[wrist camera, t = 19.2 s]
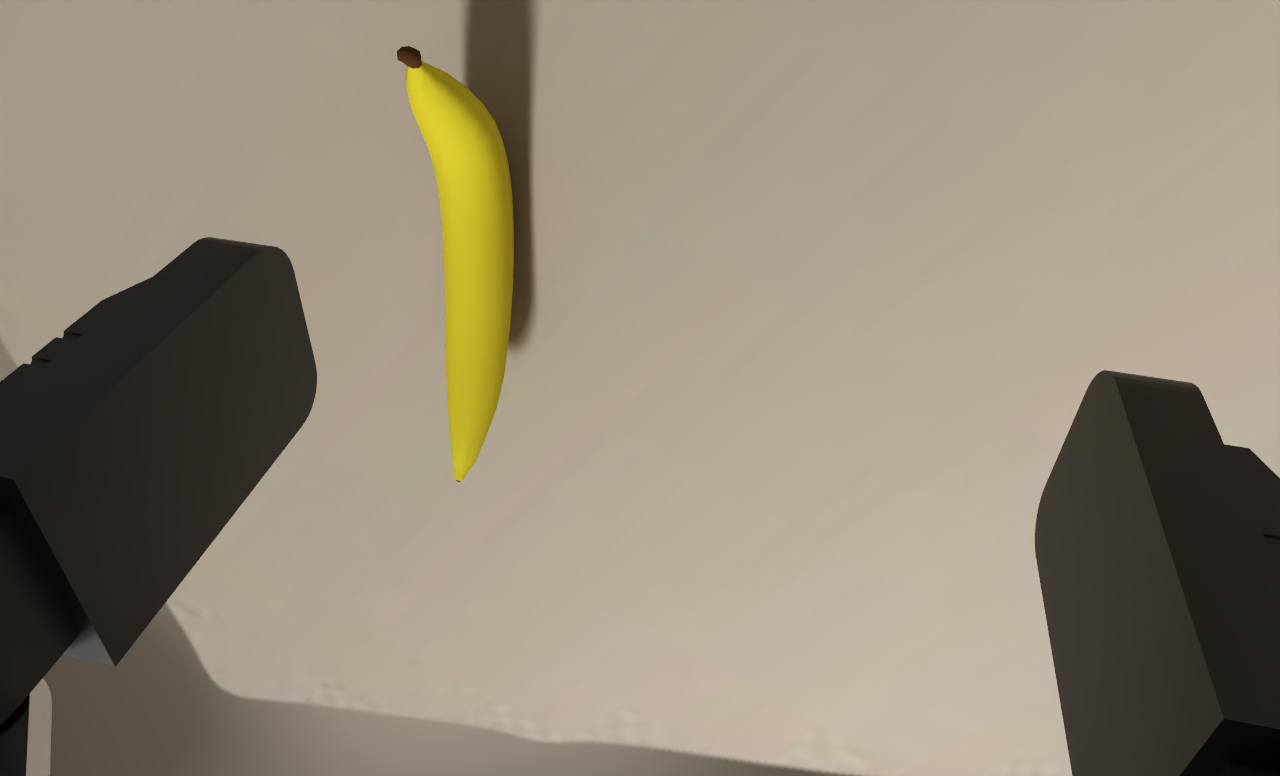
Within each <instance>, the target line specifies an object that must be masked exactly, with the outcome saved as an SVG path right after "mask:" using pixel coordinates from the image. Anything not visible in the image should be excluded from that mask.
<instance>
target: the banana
mask: <svg viewBox="0 0 1280 776" xmlns="http://www.w3.org/2000/svg"><path fill="white" fill-rule="evenodd" d="M397 57H398V60H399V61H401V62H403V63H404V64H406V65H407V70H406V85H407V91H408V96H409V100H410V105H411V108H412V110H413V113H414V116H415V118H416V121H417V123H418V126H419V128H420V130H421V132H422V135H423V137H424V139H425V142H426V144H427V147H428V150H429V152H430V155H431V158H432V162H433V166H434V170H435V174H436V179H437V186H438V193H439V200H440V210H441V221H442V232H443V250H444V269H445V318H446V377H447V398H448V413H449V425H450V437H451V449H452V460H453V468H454V478H455V480H456V481H458V482H460V481H461V480H463V479H464V477H465V476H466V474H467V472H468V471H469V469H470V468H471V467H472V465H473V464H474V462H475V461H476V458H477V456H478V454H479V452H480V449H481V447H482V445H483V442H484V440H485V438H486V435H487V432H488V429H489V427H490V424H491V421H492V419H493V416H494V413H495V410H496V408H497V404H498V399H499V395H500V391H501V387H502V382H503V378H504V372H505V365H506V357H507V349H508V340H509V332H510V321H511V308H512V296H513V270H514V217H513V199H512V186H511V179H510V172H509V164H508V160H507V155H506V151H505V147H504V143H503V140H502V137H501V135H500V132H499V130H498V127H497V125H496V123H495V121H494V119H493V118H492V116H491V115H490V113H489V112H488V110H487V109H486V107H485V106H484V104H483V103H482V102H481V101H480V100H479V99H478V98H477V97H476V96H475V95H474V94H473V93H472V92H471V91H470V90H469V89H468V88H467V87H466V86H464V85H463V84H462V83H460V82H459V81H457V80H456V79H455V78H453V77H452V76H451V75H449V74H448V73H446V72H444V71H442V70H440V69H437V68H435V67H433V66H431V65H429V64H427V63H425V62H423V61H421V55H420V51H418V50H416V49H414V48H412V47H410V46H407V47H401V48H400V49H399V50H398V51H397Z"/></svg>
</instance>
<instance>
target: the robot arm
mask: <svg viewBox="0 0 1280 776" xmlns="http://www.w3.org/2000/svg"><path fill="white" fill-rule="evenodd" d="M316 386H317V370H316V364H315V360H314V355H313V351H312V347H311V343H310V338H309V334H308V330H307V325H306V321H305V317H304V312H303V308H302V304H301V300H300V295H299V291H298V287H297V282H296V278H295V274H294V270H293V267H292V264H291V261H290V259H289V258H288V256H287V255H286V253H285V252H284V251H283V250H281V249H279V248H278V247H273V246H266V245H259V244H252V243H246V242H239V241H232V240H225V239H218V238H211V237H207V238H202V239H200V240H198V241H196V242H195V243H193V244H192V245H191V246H190V247H189V248H187V249H186V250H185V251H184V252H182V253H181V254H180V255H179V256H178V257H176V258H175V259H174V260H173V261H172V262H170V263H169V264H168V265H167V266H166V267H164V268H163V269H162V270H161V271H159V272H158V273H157V274H156V275H155V276H153V277H151V278H149V279H147V280H145V281H143V282H141V283H138V284H136V285H134V286H132V287H130V288H128V289H126V290H123V291H121V292H119V293H117V294H115V295H113V296H110V297H108V298H106V299H104V300H102V301H101V302H99V303H98V304H97V305H96V306H94V307H93V308H92V309H91V310H89V311H88V312H87V313H86V314H84V315H83V316H82V317H81V318H79V319H78V320H77V321H76V322H74V323H73V324H72V325H71V326H70V327H68V328H67V329H66V330H65V331H64V336H63V338H57V337H56V338H55V339H53V340H52V341H51V342H50V343H48V344H47V345H46V346H45V347H43V348H42V349H41V350H40V351H38V352H37V353H36V354H35V355H33V356H32V362H31V364H30V365H29V364H22V365H21V366H20V367H18V368H17V369H16V370H15V371H13V372H12V373H11V374H10V375H8V376H7V377H6V378H5V379H4V380H2V381H1V382H0V776H50V747H51V711H52V709H51V708H52V702H51V693H50V691H49V688H48V686H47V684H46V682H45V681H44V679H43V677H44V676H45V675H46V673H47V672H48V671H49V670H50V669H51V668H52V666H53V665H54V664H55V663H56V662H57V660H58V659H59V658H60V657H61V656H62V655H63V656H68V657H72V658H77V659H81V660H86V661H91V662H95V663H100V664H104V665H108V666H113V667H116V665H117V664H118V663H119V662H120V660H121V659H122V658H123V656H124V655H125V654H126V653H127V651H128V650H129V649H130V647H131V646H132V645H133V644H134V642H135V641H136V640H137V638H138V637H139V636H140V634H141V633H142V632H143V631H144V629H145V628H146V627H147V626H148V624H149V623H150V622H151V620H152V619H153V618H154V616H155V615H156V614H157V613H158V611H159V610H160V609H161V607H162V606H163V605H164V604H165V602H166V601H167V600H168V598H169V597H170V596H171V595H172V593H173V592H174V591H175V589H176V588H177V587H178V585H179V584H180V583H181V582H182V580H183V579H184V578H185V576H186V575H187V574H188V573H189V571H190V570H191V569H192V567H193V566H194V565H195V564H196V562H197V561H198V560H199V558H200V557H201V556H202V555H203V553H204V552H205V551H206V549H207V548H208V547H209V545H210V544H211V543H212V542H213V540H214V539H215V538H216V536H217V535H218V534H219V533H220V531H221V530H222V529H223V527H224V526H225V525H226V524H227V522H228V521H229V520H230V518H231V517H232V516H233V514H234V513H235V512H236V511H237V509H238V508H239V507H240V505H241V504H242V503H243V502H244V500H245V499H246V498H247V496H248V495H249V494H250V493H251V491H252V490H253V489H254V487H255V486H256V485H257V484H258V482H259V481H260V480H261V478H262V477H263V476H264V474H265V473H266V472H267V471H268V469H269V468H270V467H271V465H272V464H273V463H274V462H275V460H276V459H277V458H278V456H279V455H280V454H281V453H282V451H283V450H284V449H285V447H286V446H287V445H288V443H289V442H290V441H291V440H292V438H293V437H294V436H295V434H296V433H297V432H298V431H299V429H300V428H301V427H302V425H303V424H304V422H305V421H306V419H307V417H308V415H309V413H310V411H311V408H312V405H313V402H314V398H315V393H316ZM1035 552H1036V559H1037V565H1038V571H1039V577H1040V583H1041V589H1042V595H1043V601H1044V607H1045V613H1046V619H1047V625H1048V631H1049V637H1050V643H1051V649H1052V655H1053V661H1054V667H1055V673H1056V679H1057V685H1058V691H1059V697H1060V703H1061V709H1062V715H1063V721H1064V727H1065V733H1066V739H1067V745H1068V751H1069V757H1070V763H1071V769H1072V775H1073V776H1280V478H1279V477H1278V476H1277V475H1276V474H1275V473H1274V472H1273V471H1272V470H1271V469H1270V468H1269V467H1267V466H1266V465H1265V464H1264V463H1263V462H1262V461H1261V460H1260V459H1259V458H1258V457H1257V456H1256V455H1255V454H1254V453H1253V452H1252V451H1251V450H1250V449H1249V448H1243V447H1236V446H1230V445H1224V443H1223V441H1222V439H1221V436H1220V434H1219V432H1218V430H1217V427H1216V425H1215V423H1214V420H1213V418H1212V416H1211V413H1210V411H1209V409H1208V407H1207V404H1206V402H1205V400H1204V397H1203V395H1202V393H1201V391H1200V390H1199V388H1198V387H1197V386H1196V385H1194V384H1192V383H1188V382H1181V381H1175V380H1168V379H1161V378H1154V377H1147V376H1140V375H1134V374H1127V373H1120V372H1113V371H1105V370H1104V371H1101V372H1100V373H1098V374H1097V375H1096V376H1095V377H1094V379H1093V380H1092V382H1091V383H1090V385H1089V387H1088V389H1087V391H1086V393H1085V395H1084V398H1083V400H1082V402H1081V405H1080V407H1079V409H1078V412H1077V414H1076V416H1075V419H1074V421H1073V423H1072V425H1071V428H1070V430H1069V432H1068V435H1067V437H1066V439H1065V442H1064V444H1063V446H1062V449H1061V451H1060V453H1059V455H1058V458H1057V460H1056V462H1055V465H1054V467H1053V469H1052V472H1051V474H1050V476H1049V479H1048V481H1047V483H1046V485H1045V488H1044V491H1043V493H1042V497H1041V500H1040V504H1039V508H1038V513H1037V520H1036V529H1035Z"/></svg>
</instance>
